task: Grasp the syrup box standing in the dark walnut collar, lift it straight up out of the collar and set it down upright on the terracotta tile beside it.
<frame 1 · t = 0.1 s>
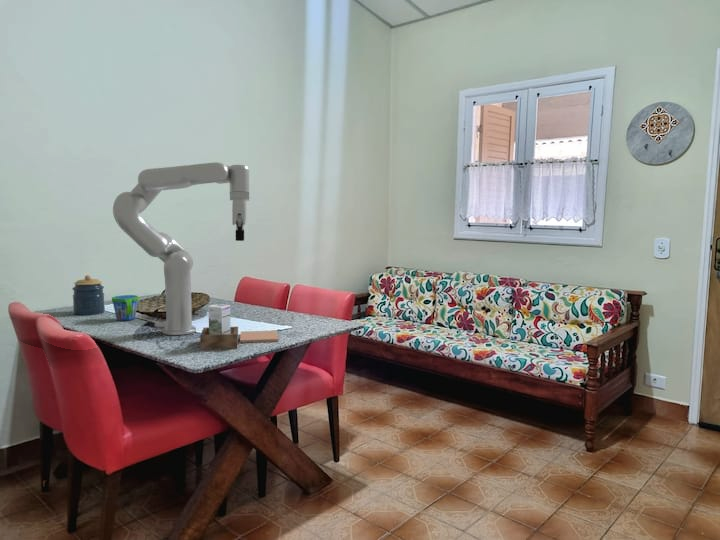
hand: (240, 240, 202), 37 cm above the table, tool pointing down, fingers open, 9 cm apart
collar: (220, 344, 183), on the table
syrup box: (220, 344, 183), on the table
canister: (89, 313, 235), on the table
snack cup: (126, 320, 222), on the table
tile: (259, 337, 194), on the table
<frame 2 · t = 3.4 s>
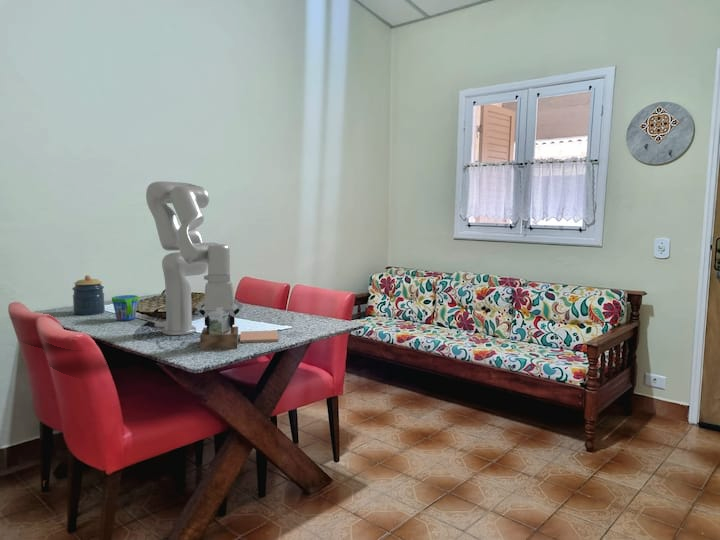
hand: (219, 326, 182), 6 cm above the table, tool pointing down, fingers closed on syrup box, 7 cm apart
syrup box: (220, 344, 183), on the table, touching gripper
everything else where it was.
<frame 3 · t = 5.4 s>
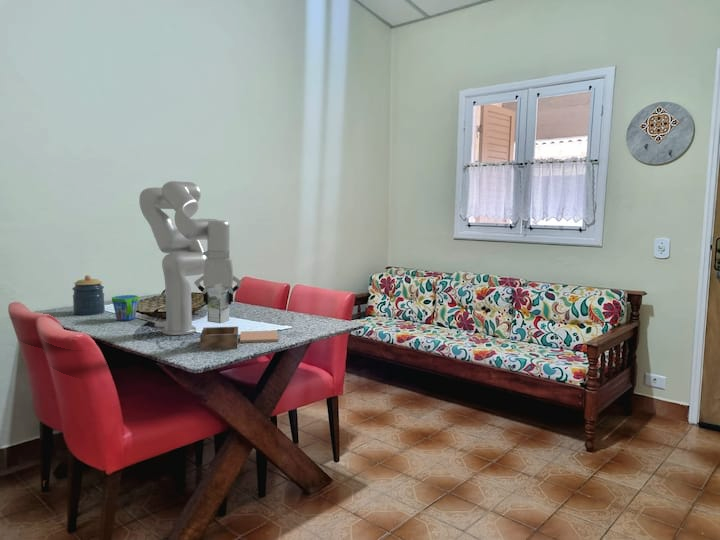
hand: (218, 303, 182), 15 cm above the table, tool pointing down, fingers closed on syrup box, 7 cm apart
syrup box: (218, 321, 183), point 8 cm above the table, touching gripper
everything else where it was.
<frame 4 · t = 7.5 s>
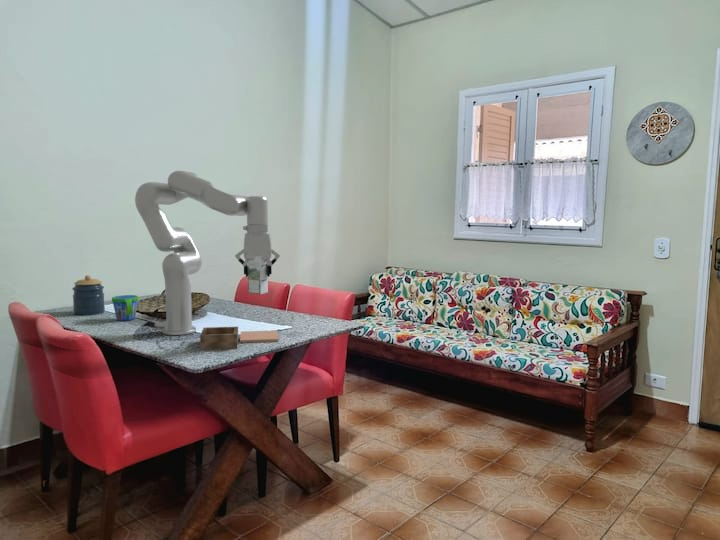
hand: (257, 276, 191), 24 cm above the table, tool pointing down, fingers closed on syrup box, 7 cm apart
syrup box: (257, 293, 192), point 17 cm above the table, touching gripper
everything else where it was.
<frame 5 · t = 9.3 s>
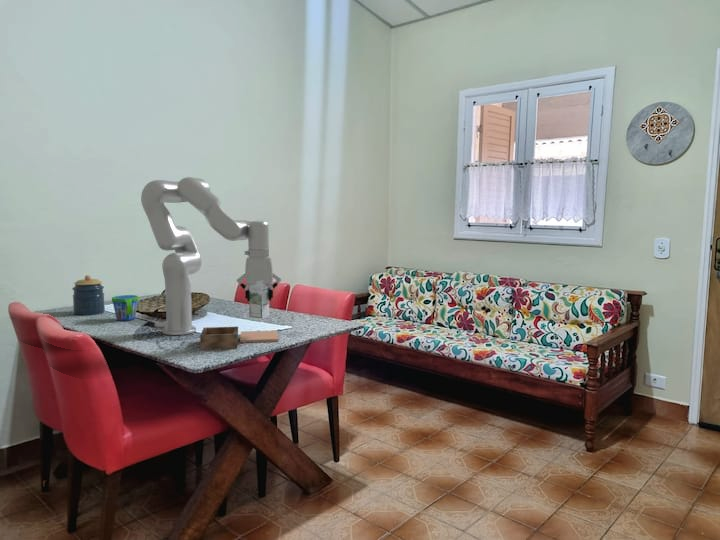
hand: (259, 300, 192), 15 cm above the table, tool pointing down, fingers closed on syrup box, 7 cm apart
syrup box: (259, 317, 193), point 8 cm above the table, touching gripper
everything else where it was.
when the fingers open (8 cm above the table, at t = 11.1 s): syrup box stays where it is, resting on tile.
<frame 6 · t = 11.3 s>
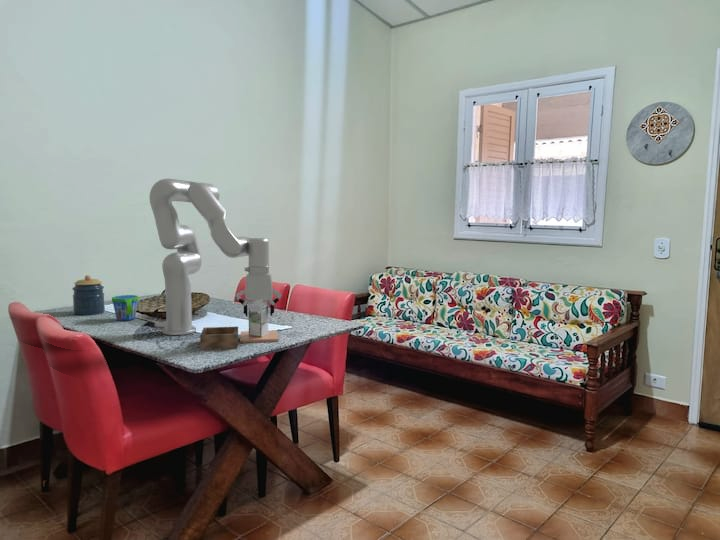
hand: (259, 315, 193), 9 cm above the table, tool pointing down, fingers open, 9 cm apart
syrup box: (258, 335, 194), point 1 cm above the table, touching tile
everything else where it was.
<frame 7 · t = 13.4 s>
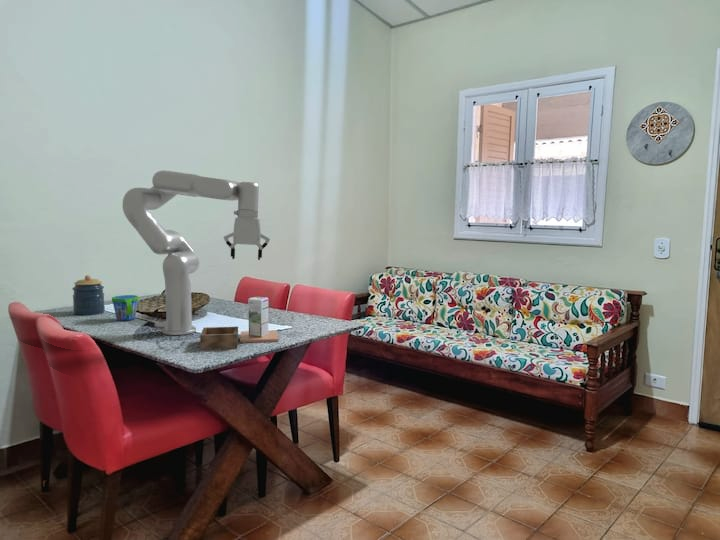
hand: (246, 259, 195), 30 cm above the table, tool pointing down, fingers open, 9 cm apart
nothing on the table moved.
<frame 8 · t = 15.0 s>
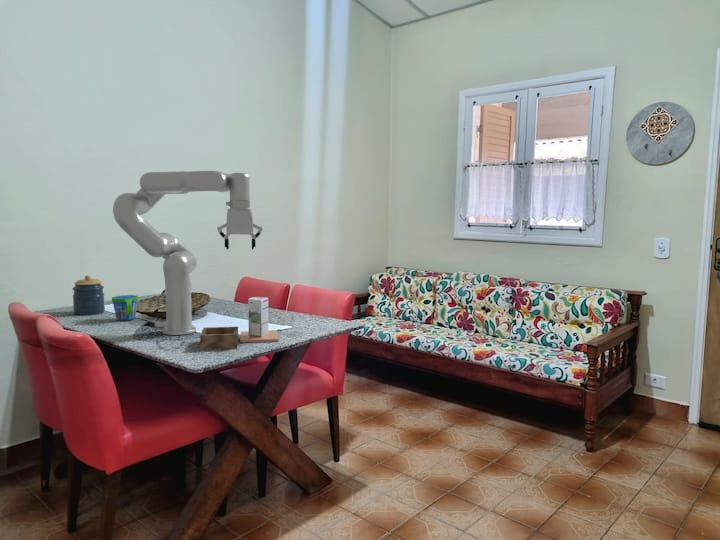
hand: (240, 249, 198), 33 cm above the table, tool pointing down, fingers open, 9 cm apart
nothing on the table moved.
at the end: syrup box inside the target area on the tile (0.2 cm from its centre), point 0.8 cm above the tile's base; syrup box tilted 0°; the gripper is holding nothing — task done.
